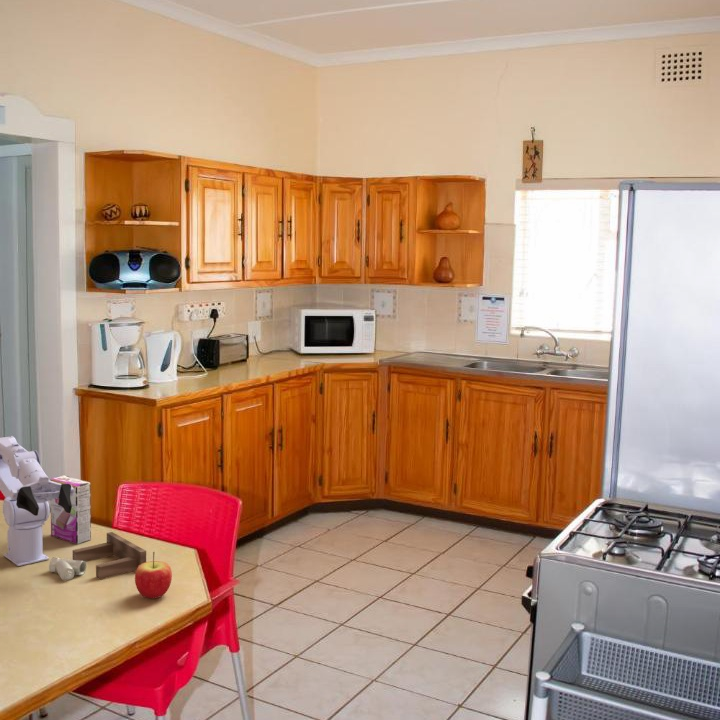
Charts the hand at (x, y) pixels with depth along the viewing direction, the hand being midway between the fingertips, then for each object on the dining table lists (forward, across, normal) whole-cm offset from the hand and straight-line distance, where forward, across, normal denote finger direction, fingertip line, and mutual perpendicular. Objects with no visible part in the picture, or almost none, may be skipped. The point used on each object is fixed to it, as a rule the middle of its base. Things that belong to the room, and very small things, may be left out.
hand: (53, 510), depth 198 cm
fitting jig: (0, +17, +17) cm, 24 cm away
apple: (+23, +18, +11) cm, 31 cm away
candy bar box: (-23, +17, +24) cm, 38 cm away
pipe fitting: (+1, +6, +19) cm, 20 cm away
